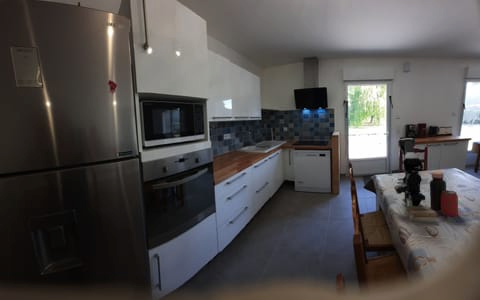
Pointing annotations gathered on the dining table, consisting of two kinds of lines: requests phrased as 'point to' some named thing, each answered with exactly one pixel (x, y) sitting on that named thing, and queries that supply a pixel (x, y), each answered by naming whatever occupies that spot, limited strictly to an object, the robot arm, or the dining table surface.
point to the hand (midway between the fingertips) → (413, 207)
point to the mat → (421, 222)
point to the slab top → (421, 211)
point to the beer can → (449, 203)
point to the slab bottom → (421, 218)
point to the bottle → (436, 190)
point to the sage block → (410, 202)
